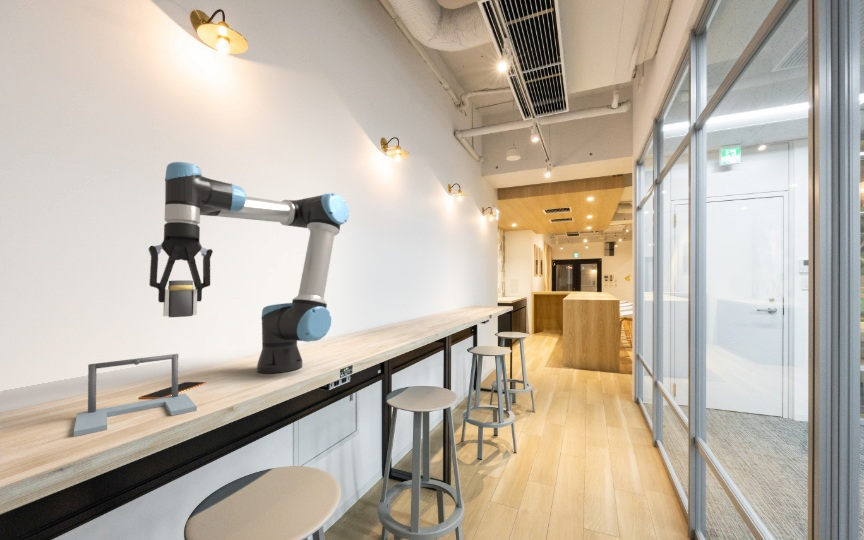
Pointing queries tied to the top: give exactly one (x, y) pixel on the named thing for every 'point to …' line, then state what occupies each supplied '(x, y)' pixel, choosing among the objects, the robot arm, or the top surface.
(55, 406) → the top surface
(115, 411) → the arch on base
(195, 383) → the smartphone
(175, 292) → the yellow-banded grey cylinder
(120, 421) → the top surface
